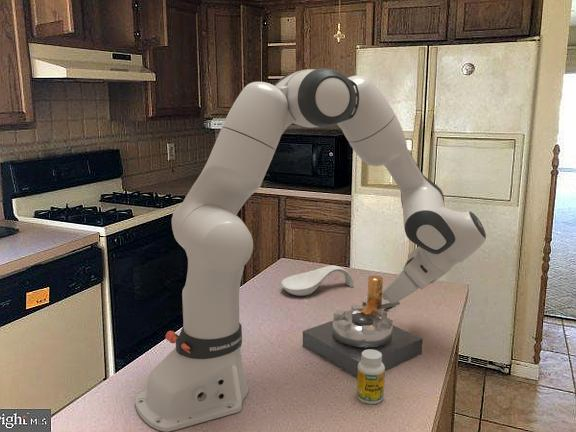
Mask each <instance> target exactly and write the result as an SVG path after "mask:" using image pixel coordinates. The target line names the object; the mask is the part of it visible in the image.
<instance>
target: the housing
mask: <svg viewBox="0 0 576 432" xmlns="http://www.w3.org/2000/svg"><path fill="white" fill-rule="evenodd" d="M332 332H333V320H330V321H328V322H325V323H322V324H319V325H316V326H314V327H311V328H308V329H305V330H302V347H303V348H305V349H307V350H308V351H310V352H311V353H313V354H315V355H317V356H318V357H320V358H321V359H324V360H325V361H327V362H329V363H330V364H332V365H333V366H335V367H337V368H339V369H340V370H342V371H343V372H345V373H347V374H348V375H350V376H352V377H354V378H356V379H357V376H358V364H359V362H360V361H361V360H362V359H361V355H362V352H363V351H364V350H368V349H372V350H377V351H379V352H380V353H381V354H382V361H381V362H382V363H383V364H384V366H385V372H386V371H388V370H391V369H392V368H395V367H396V366H399V365H401V364H403V363H405V362H408V361H409V360H412V359H414V358H416V357H418V356H421V355H423V353H422V351H423V340H424V339H423V337H421V336H419V335H415V334H413V333H412V332H409V331H407V330H405V329H402V328H401V327H398V326H396V325H393V328H392V339H391V340H390V341H389V342H388V343H387V344H384V345H382V346H378V347H355V346H351V345H347V344H344V343H342V342H340V341H339V340H337V339H336V338H335V337H334V336H333V333H332Z"/></svg>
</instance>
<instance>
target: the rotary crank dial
mask: <svg viewBox="0 0 576 432" xmlns="http://www.w3.org/2000/svg"><path fill="white" fill-rule="evenodd" d="M367 279H368V280H367V281H368V282H367V300H366V302H367V305H366V306H365V307H364V308H363V307H362V305H361V304H360V305H358V304H357V305H356V304H354V305H350V307H351V310H342V309H341V310H340V309H336V311H335V312H334V313H333V318H332V321H333V332H332V333H333V336H334V337H335V338H336V339H337V340H339V341H340V342H342V343H344V344H347V345H351V346H355V347H378V346H382V345H384V344H387V343H388V342H389V341H390V340H391V339H392V328H393V324H394V323H393V319H391V318H390V317H388V311H386V310H384V309H381V307H382V303H383V297H382V296H381V294H382V293H383V289H384V288H383V287H384V286H383V285H384V278H383V277H382V276H379V275H370V276H368V278H367Z"/></svg>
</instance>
